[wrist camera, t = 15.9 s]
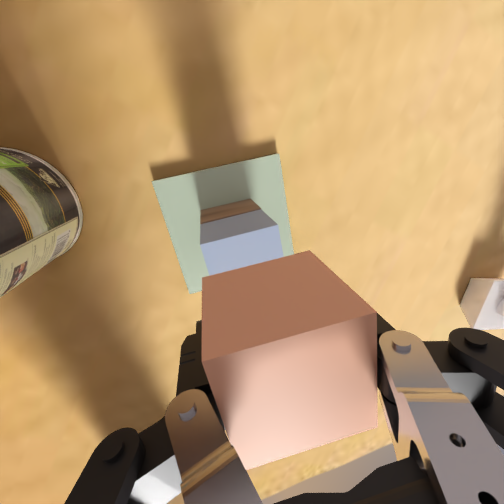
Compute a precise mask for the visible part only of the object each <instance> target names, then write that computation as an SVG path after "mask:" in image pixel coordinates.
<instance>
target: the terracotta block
mask: <svg viewBox="0 0 504 504" xmlns="http://www.w3.org/2000/svg"><path fill="white" fill-rule="evenodd" d="M202 364H203V367H204V370H205V373H206V376H207V378H208V381H209V384H210V387H211V390H212V393H213V395H214V398H215V401H216V404H217V407H218V410H219V412H220V415H221V418H222V421H223V424H224V427H225V429H226V432H227V435H228V438H229V441H230V444H231V445H233V447H234V448H235V450H236V452H237V454H238V456H239V458H240V460H241V462H242V464H243V466H244V468H245V469H246V470H248V469H251V468H254V467H258V466H261V465H264V464H267V463H270V462H273V461H276V460H279V459H282V458H285V457H288V456H291V455H294V454H297V453H300V452H303V451H306V450H310V449H313V448H316V447H319V446H322V445H325V444H328V443H331V442H334V441H337V440H340V439H343V438H346V437H349V436H352V435H355V434H358V433H361V432H365V431H368V430H371V429H374V428H377V427H378V425H377V312H376V311H375V310H374V309H373V308H372V307H371V306H370V305H369V304H367V303H366V302H365V301H364V300H363V299H362V298H361V297H360V296H359V295H358V294H357V293H355V292H354V291H353V290H352V289H351V288H350V287H349V286H348V285H347V284H346V283H345V282H343V281H342V280H341V279H340V278H339V277H338V276H337V275H336V274H335V273H334V272H333V271H331V270H330V269H329V268H328V267H327V266H326V265H325V264H324V263H323V262H322V261H321V260H319V259H318V258H317V257H316V256H315V255H314V254H313V253H312V252H311V251H310V250H309V251H305V252H301V253H297V254H293V255H289V256H285V257H281V258H277V259H274V260H270V261H266V262H262V263H258V264H254V265H250V266H246V267H242V268H238V269H234V270H230V271H226V272H222V273H218V274H214V275H210V276H206V277H202Z"/></svg>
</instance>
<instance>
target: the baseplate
mask: <svg viewBox="0 0 504 504" xmlns="http://www.w3.org/2000/svg"><path fill="white" fill-rule="evenodd" d="M152 184H153V187H154V190H155V193H156V196H157V199H158V202H159V205H160V207H161V210H162V213H163V216H164V219H165V222H166V225H167V228H168V231H169V234H170V237H171V240H172V243H173V246H174V249H175V252H176V255H177V258H178V261H179V264H180V267H181V270H182V273H183V276H184V279H185V282H186V285H187V287H188V290H189V293H190V294H192V293H196V292H199V291H202V277H206V276H209V273H208V269H207V266H206V263H205V260H204V256H203V253H202V250H201V247H200V210H203V209H207V208H212V207H216V206H220V205H224V204H229V203H233V202H237V201H241V200H246V199H250V198H251V199H252V200H253V201H254V202H255V203H256V204H257V205H258V206H259V207H260V208H261V209H262V210H263V211H264V212H265V213H266V214H267V215H268V216H269V217H270V218H271V219H272V220H273V221H275V222H276V223H277V224H278V227H279V233H280V239H281V245H282V250H283V256H284V257H285V256H289V255H293V254H294V251H293V245H292V238H291V231H290V224H289V217H288V210H287V204H286V197H285V190H284V183H283V176H282V170H281V163H280V156H279V154H272V155H268V156H263V157H258V158H254V159H249V160H245V161H240V162H236V163H231V164H227V165H222V166H217V167H213V168H208V169H204V170H199V171H195V172H190V173H186V174H181V175H177V176H172V177H167V178H163V179H158V180H154V181H152Z"/></svg>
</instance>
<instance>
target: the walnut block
mask: <svg viewBox="0 0 504 504" xmlns="http://www.w3.org/2000/svg"><path fill="white" fill-rule="evenodd" d="M260 209H261V208H260V207H259V206H258V205H257V204H256V203H255V202H254V201H253V200H252V199H251V198H250V199H246V200H241V201H237V202H233V203H229V204H224V205H220V206H216V207H212V208H207V209H203V210H200V224H204V223H208V222H212V221H216V220H220V219H224V218H228V217H232V216H236V215H240V214H244V213H248V212H252V211H256V210H260Z"/></svg>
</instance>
